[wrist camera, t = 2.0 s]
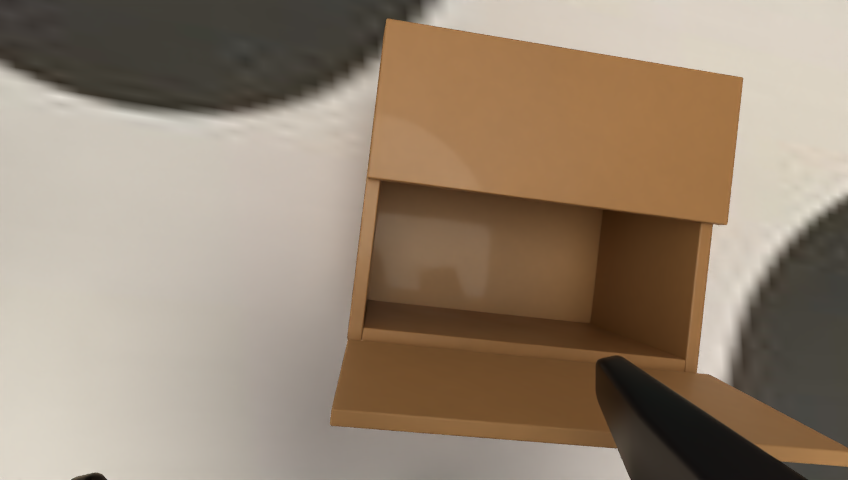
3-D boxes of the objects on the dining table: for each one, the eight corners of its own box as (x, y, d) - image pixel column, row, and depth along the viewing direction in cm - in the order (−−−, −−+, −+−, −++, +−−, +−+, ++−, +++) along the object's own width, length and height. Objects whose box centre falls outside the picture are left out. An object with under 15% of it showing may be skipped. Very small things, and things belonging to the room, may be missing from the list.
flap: (709, 374, 17) (707, 384, 17) (348, 338, 16) (346, 350, 16) (858, 452, 12) (855, 468, 12) (331, 408, 10) (329, 426, 10)
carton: (593, 331, 26) (712, 380, 17) (356, 306, 25) (345, 345, 16) (615, 133, 26) (745, 75, 17) (381, 98, 25) (385, 15, 16)
